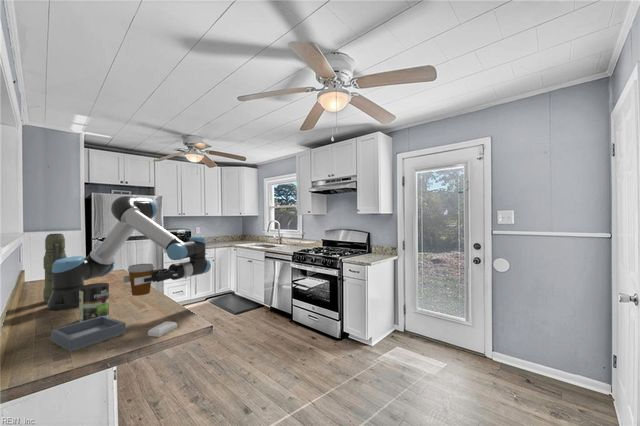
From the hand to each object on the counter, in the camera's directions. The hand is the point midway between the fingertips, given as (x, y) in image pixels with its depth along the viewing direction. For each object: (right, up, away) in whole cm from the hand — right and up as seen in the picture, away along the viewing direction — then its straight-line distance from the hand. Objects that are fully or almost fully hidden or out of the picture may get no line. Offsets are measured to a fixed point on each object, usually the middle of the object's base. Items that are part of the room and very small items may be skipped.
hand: (128, 280), depth 114 cm
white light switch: (+18, -18, -7) cm, 26 cm away
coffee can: (-20, -18, +7) cm, 28 cm away
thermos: (-61, -19, +33) cm, 72 cm away
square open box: (-7, -18, -12) cm, 22 cm away
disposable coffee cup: (+2, -7, +4) cm, 8 cm away
